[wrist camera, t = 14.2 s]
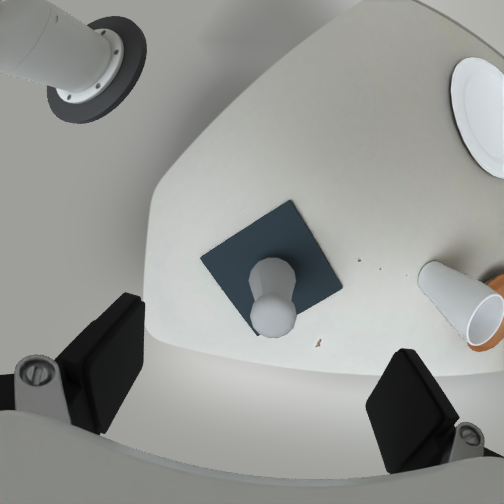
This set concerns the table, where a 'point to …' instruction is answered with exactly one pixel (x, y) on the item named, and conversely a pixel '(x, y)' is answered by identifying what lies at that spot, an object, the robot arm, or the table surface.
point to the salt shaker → (272, 297)
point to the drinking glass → (463, 301)
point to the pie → (500, 285)
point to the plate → (480, 111)
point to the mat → (272, 246)
